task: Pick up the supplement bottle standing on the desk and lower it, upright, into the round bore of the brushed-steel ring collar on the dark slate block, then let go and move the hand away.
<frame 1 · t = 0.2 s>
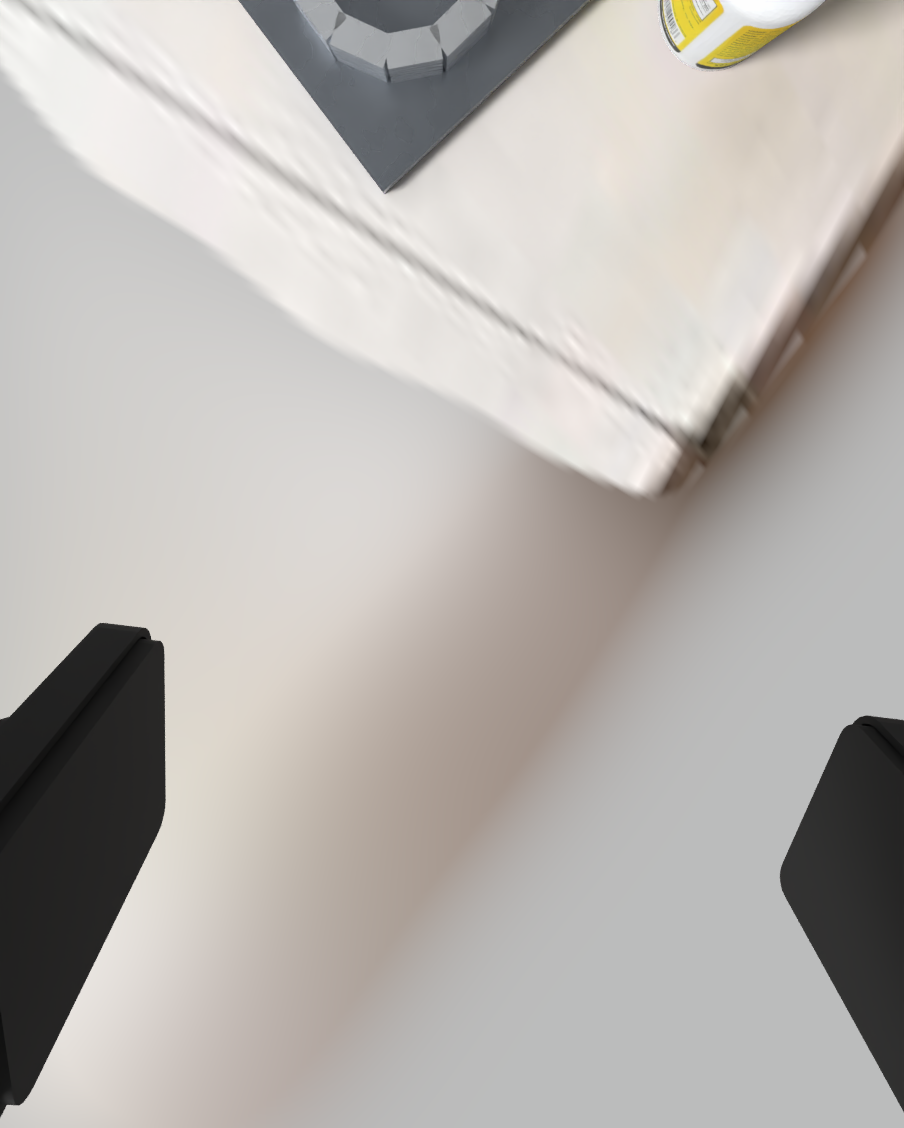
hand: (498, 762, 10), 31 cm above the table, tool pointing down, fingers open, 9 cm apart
supplement bottle: (713, 2, 31), on the table
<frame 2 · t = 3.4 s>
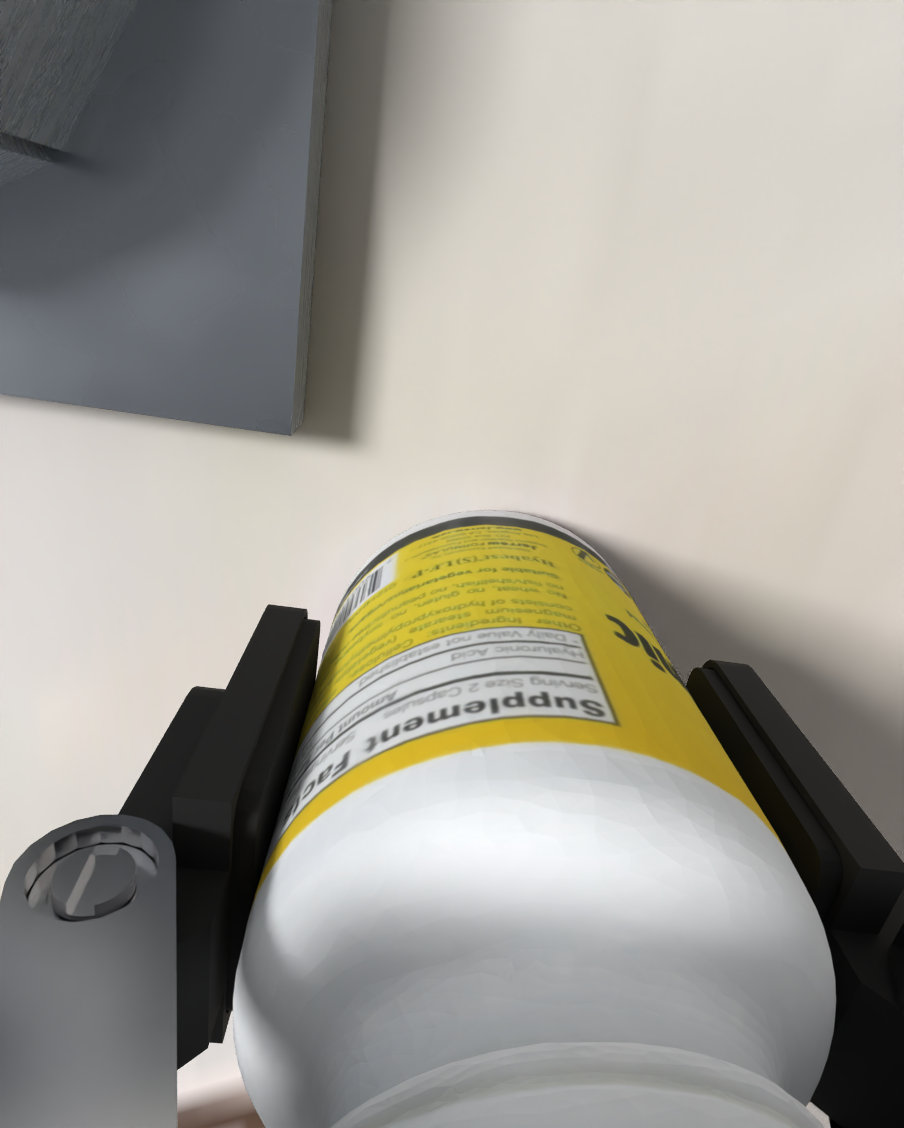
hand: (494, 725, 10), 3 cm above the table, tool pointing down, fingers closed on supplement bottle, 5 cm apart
supplement bottle: (483, 635, 13), on the table, touching gripper
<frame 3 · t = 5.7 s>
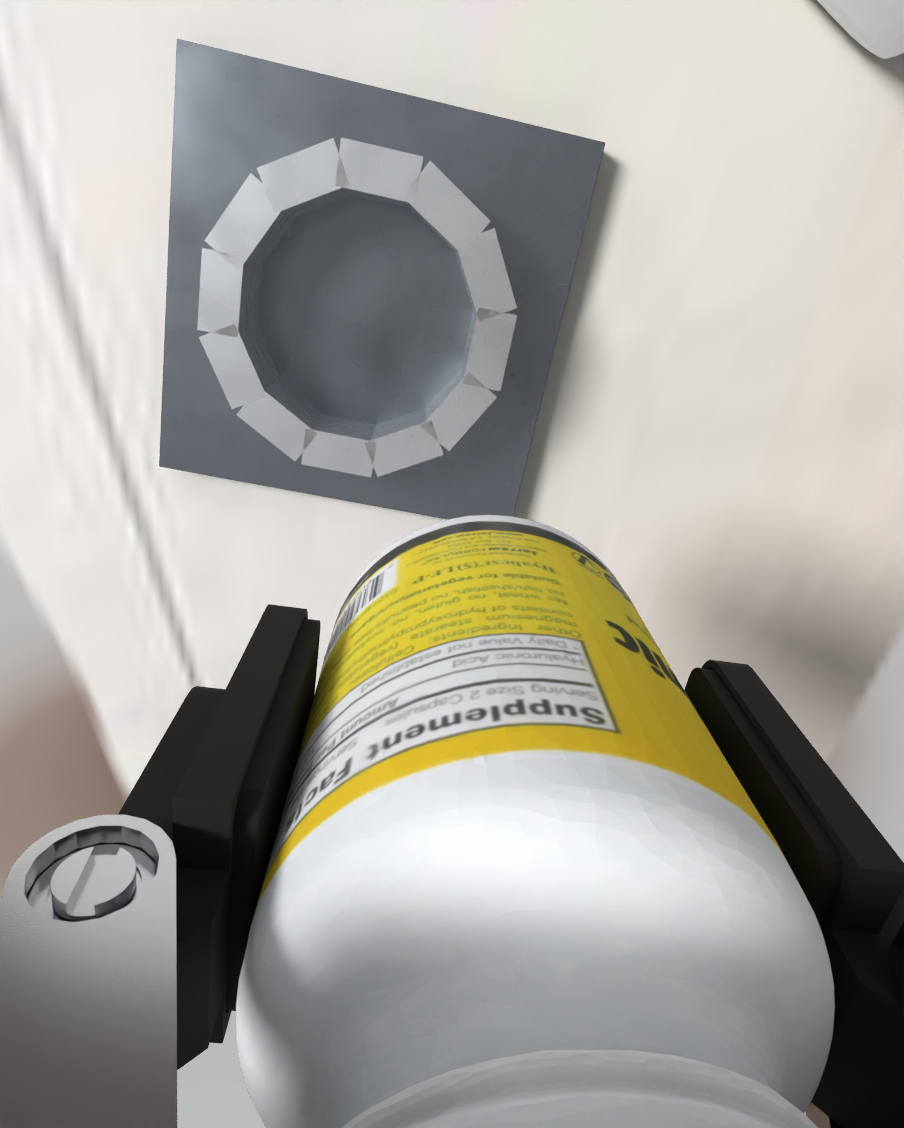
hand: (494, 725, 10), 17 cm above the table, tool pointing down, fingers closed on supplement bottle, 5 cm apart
ring collar block: (367, 315, 24), on the table
supplement bottle: (483, 639, 13), point 15 cm above the table, touching gripper
when the fingers open (5 cm above the table, at t = 8.4 s): supplement bottle drops 1 cm, resting on ring collar block.
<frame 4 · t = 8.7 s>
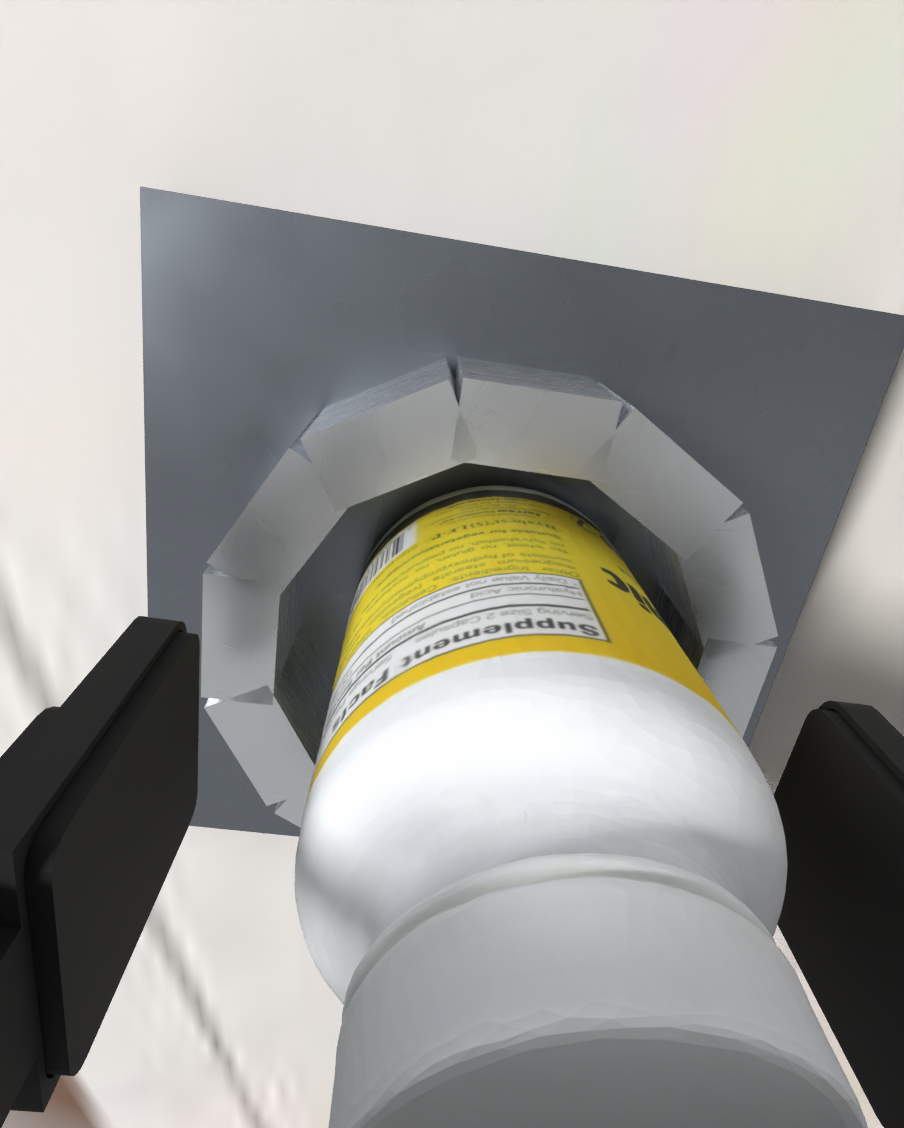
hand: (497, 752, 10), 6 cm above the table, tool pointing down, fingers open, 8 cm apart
ring collar block: (476, 584, 15), on the table
supplement bottle: (491, 601, 14), point 1 cm above the table, touching ring collar block
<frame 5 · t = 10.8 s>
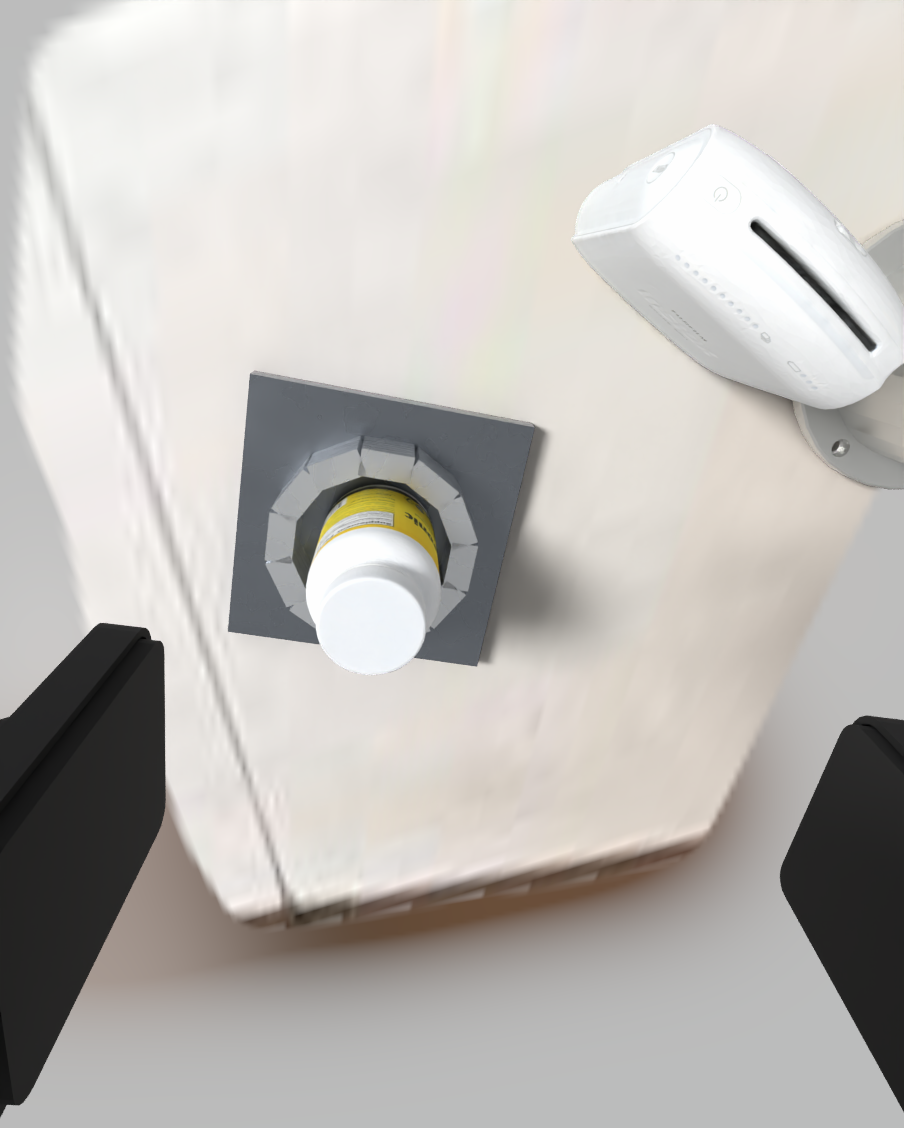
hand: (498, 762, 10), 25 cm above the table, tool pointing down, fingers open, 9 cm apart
photo printer: (666, 275, 31), on the table
ring collar block: (375, 527, 35), on the table
supplement bottle: (379, 533, 34), point 1 cm above the table, touching ring collar block
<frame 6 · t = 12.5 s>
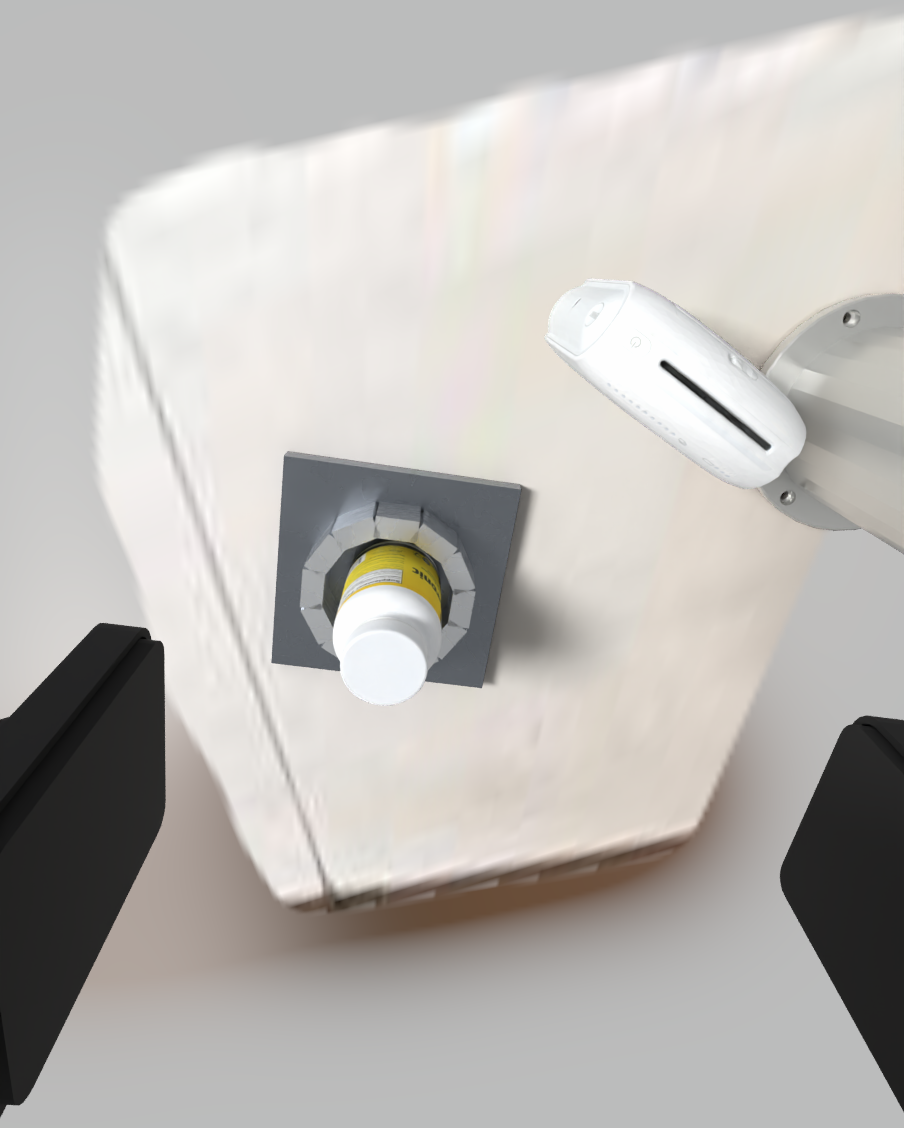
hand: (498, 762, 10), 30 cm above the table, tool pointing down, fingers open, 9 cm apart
photo printer: (628, 360, 37), on the table
ring collar block: (391, 573, 42), on the table
supplement bottle: (394, 579, 41), point 1 cm above the table, touching ring collar block
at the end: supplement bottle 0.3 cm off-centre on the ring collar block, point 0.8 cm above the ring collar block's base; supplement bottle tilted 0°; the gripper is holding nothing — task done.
